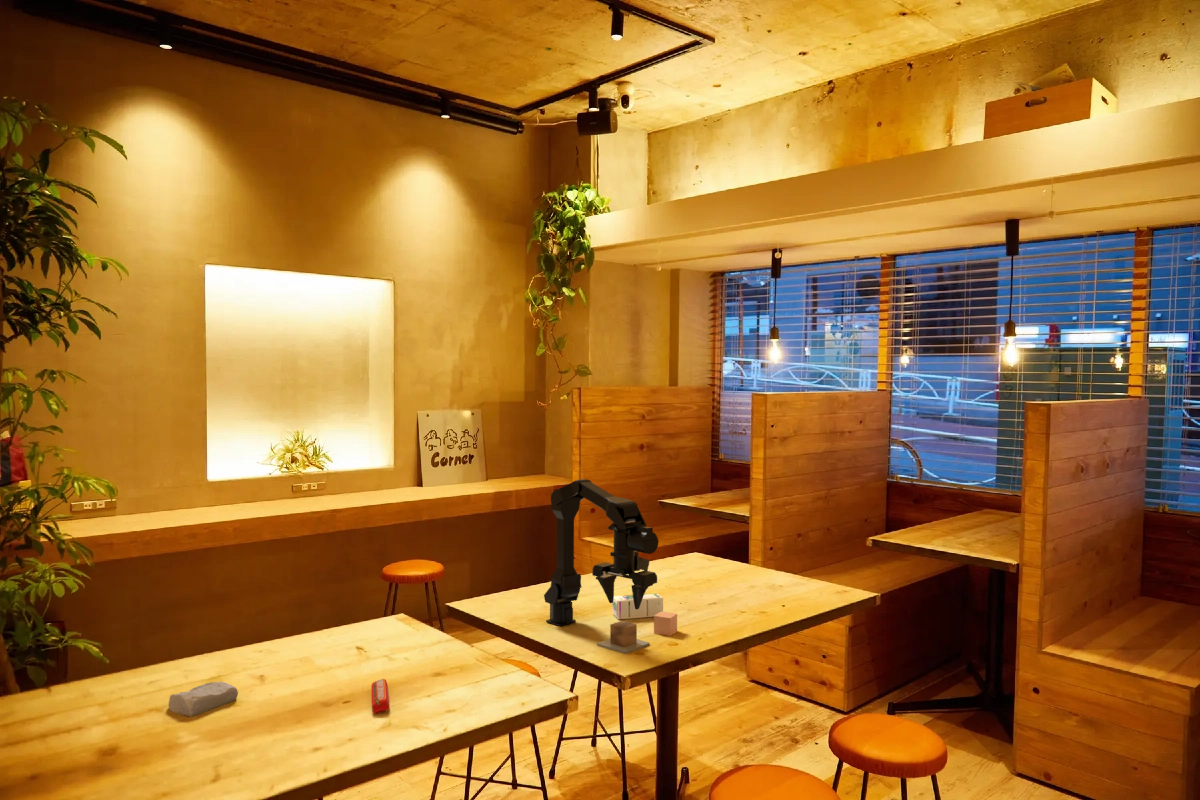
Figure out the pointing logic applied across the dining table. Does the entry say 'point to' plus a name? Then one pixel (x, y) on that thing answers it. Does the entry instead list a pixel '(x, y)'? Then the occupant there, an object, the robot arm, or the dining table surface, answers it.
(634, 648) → the coaster
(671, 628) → the terracotta cube
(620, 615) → the syrup box
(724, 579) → the dining table surface
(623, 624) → the walnut cube
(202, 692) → the stone block
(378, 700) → the candy bar
